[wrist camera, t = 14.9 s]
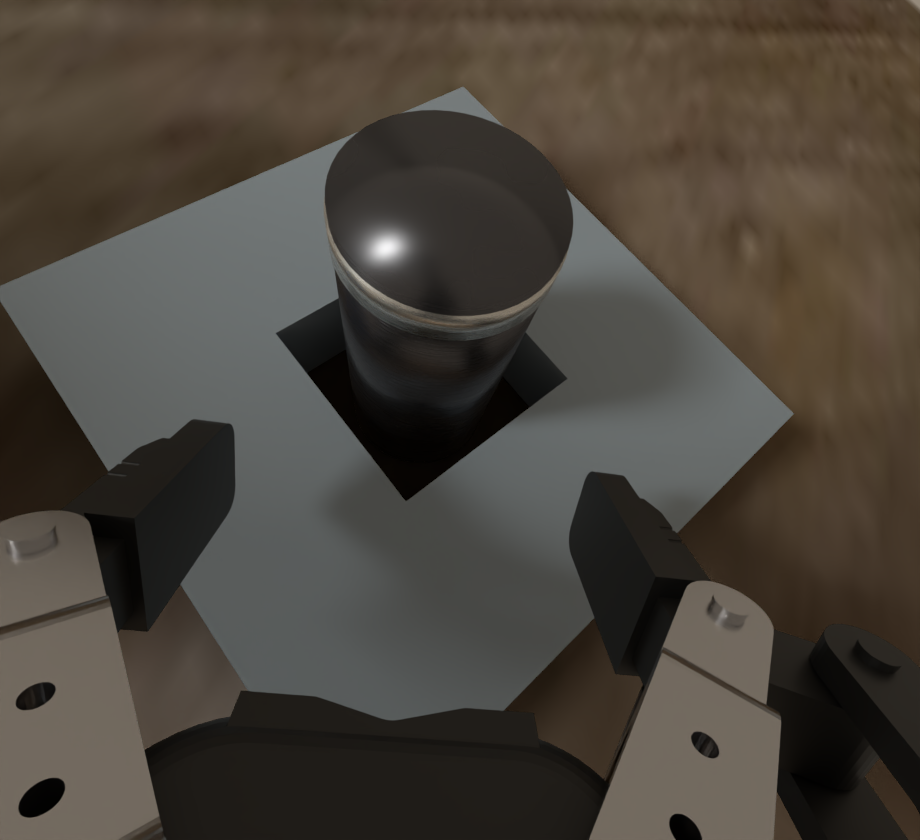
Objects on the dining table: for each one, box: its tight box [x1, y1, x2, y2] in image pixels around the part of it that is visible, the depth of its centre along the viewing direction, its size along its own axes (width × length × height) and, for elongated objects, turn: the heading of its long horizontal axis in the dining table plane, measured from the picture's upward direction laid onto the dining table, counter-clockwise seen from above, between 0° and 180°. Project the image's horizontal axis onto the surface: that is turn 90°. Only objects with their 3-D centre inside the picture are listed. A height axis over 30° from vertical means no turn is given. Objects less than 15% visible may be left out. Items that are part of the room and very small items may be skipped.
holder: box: [0, 87, 794, 720], centre depth 17 cm, size 18×18×3 cm
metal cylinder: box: [324, 110, 573, 463], centre depth 14 cm, size 5×5×10 cm
